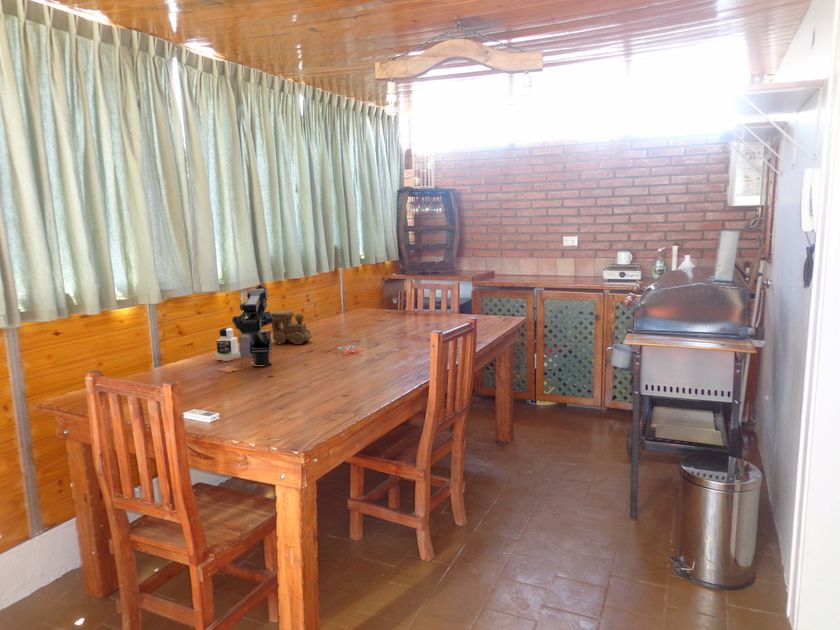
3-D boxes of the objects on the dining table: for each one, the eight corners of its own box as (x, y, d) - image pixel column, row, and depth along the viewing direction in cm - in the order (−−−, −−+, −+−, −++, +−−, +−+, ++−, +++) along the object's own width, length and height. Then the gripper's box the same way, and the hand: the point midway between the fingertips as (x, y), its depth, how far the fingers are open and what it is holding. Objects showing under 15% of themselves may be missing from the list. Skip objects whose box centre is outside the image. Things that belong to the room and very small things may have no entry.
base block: (240, 358, 285) (239, 352, 284) (227, 361, 278) (226, 355, 278) (229, 356, 289) (228, 350, 288) (215, 360, 282) (215, 353, 282)
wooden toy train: (269, 344, 313) (267, 313, 310) (279, 340, 324) (277, 310, 321) (304, 345, 309) (303, 314, 306) (313, 341, 320) (311, 310, 317)
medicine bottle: (217, 354, 280) (215, 329, 278) (224, 351, 287) (222, 327, 285) (231, 355, 279) (229, 330, 277) (238, 351, 286) (236, 327, 284)
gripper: (268, 294, 282) (258, 315, 292) (231, 299, 269) (223, 321, 279) (278, 312, 278) (268, 332, 288) (242, 318, 265) (232, 339, 275)
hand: (248, 330), depth 282 cm, fingers open, 9 cm apart
